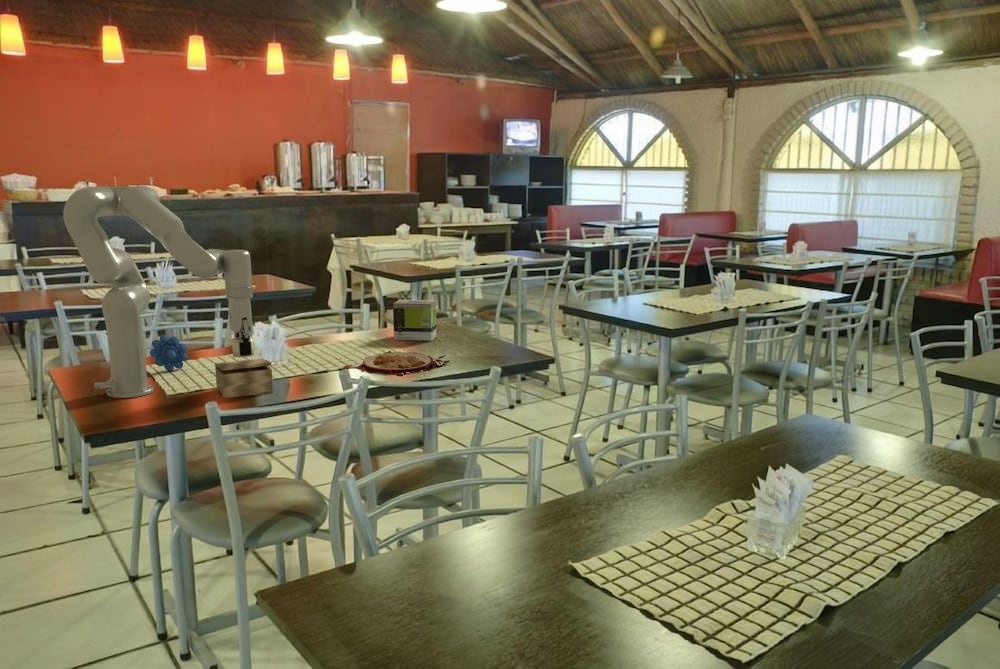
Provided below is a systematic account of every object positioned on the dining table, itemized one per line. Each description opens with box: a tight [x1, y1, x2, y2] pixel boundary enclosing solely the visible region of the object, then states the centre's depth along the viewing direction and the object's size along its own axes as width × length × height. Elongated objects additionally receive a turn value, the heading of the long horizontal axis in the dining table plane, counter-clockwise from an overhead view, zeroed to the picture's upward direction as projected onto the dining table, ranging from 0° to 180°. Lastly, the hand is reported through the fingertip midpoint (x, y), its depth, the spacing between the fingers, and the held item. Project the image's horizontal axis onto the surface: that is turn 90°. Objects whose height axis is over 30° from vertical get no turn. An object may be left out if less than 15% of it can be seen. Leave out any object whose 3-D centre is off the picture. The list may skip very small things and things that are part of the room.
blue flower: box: [149, 334, 189, 372], centre depth 264 cm, size 12×7×12 cm, turn 123°
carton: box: [214, 366, 274, 399], centre depth 242 cm, size 14×11×7 cm
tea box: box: [392, 299, 437, 342], centre depth 317 cm, size 15×10×15 cm
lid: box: [214, 358, 272, 371], centre depth 241 cm, size 14×11×1 cm
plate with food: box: [342, 350, 450, 376], centre depth 275 cm, size 25×26×4 cm
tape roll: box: [231, 336, 255, 358], centre depth 240 cm, size 6×6×5 cm
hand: (243, 352), depth 241 cm, fingers closed on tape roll, 5 cm apart
